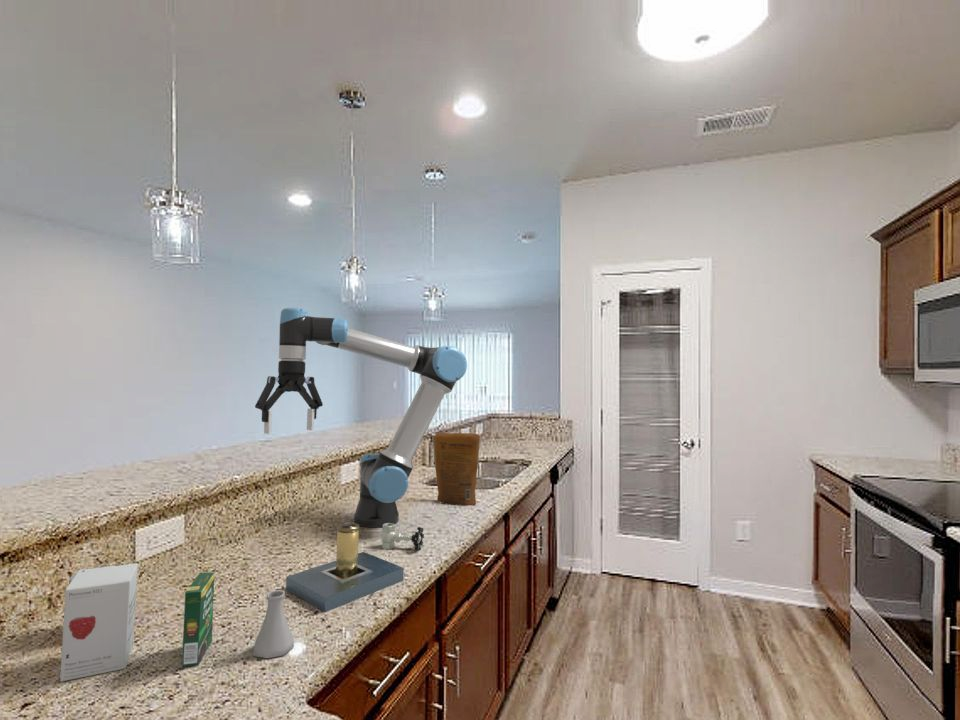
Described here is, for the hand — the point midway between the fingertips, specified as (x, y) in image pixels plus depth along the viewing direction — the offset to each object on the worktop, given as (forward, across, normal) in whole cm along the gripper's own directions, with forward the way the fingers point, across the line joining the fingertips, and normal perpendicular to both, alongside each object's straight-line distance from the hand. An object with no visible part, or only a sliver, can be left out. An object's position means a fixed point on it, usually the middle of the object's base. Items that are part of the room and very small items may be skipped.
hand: (289, 431), depth 146 cm
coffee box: (+33, +40, +42) cm, 67 cm away
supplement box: (+33, +52, +32) cm, 69 cm away
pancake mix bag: (+33, -68, +6) cm, 76 cm away
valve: (+33, -20, +28) cm, 48 cm away
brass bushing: (+33, +5, +37) cm, 50 cm away
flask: (+33, +30, +50) cm, 67 cm away
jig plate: (+33, +5, +37) cm, 50 cm away
